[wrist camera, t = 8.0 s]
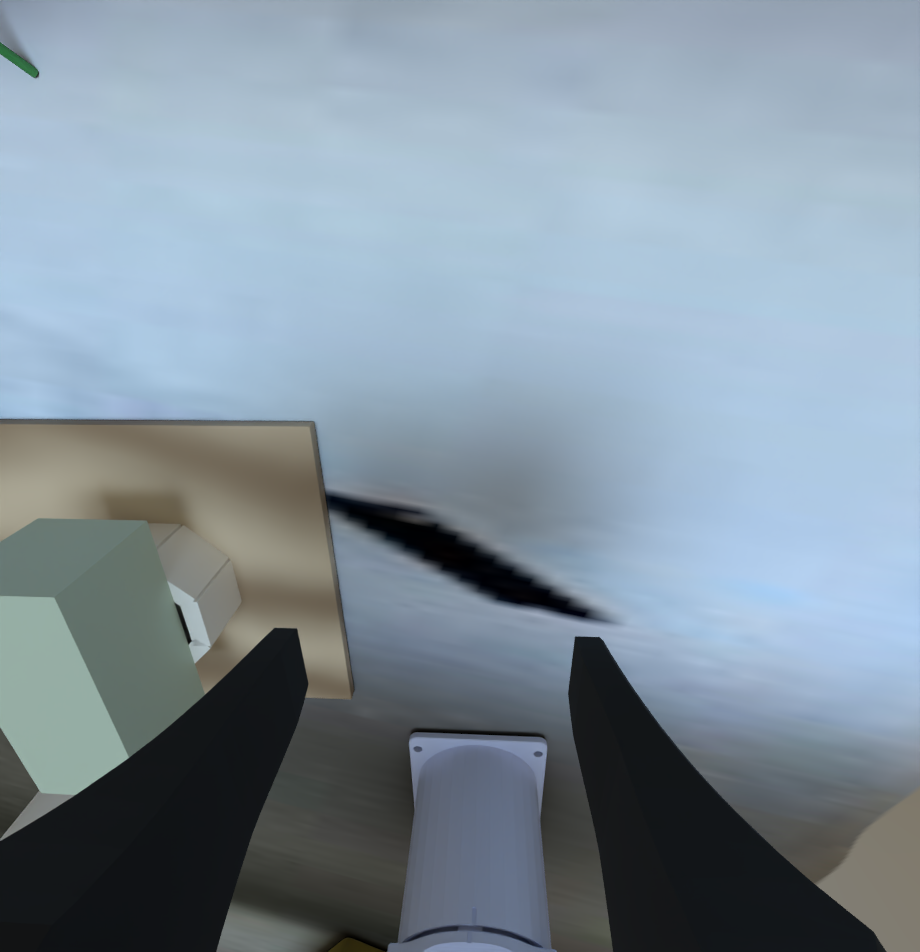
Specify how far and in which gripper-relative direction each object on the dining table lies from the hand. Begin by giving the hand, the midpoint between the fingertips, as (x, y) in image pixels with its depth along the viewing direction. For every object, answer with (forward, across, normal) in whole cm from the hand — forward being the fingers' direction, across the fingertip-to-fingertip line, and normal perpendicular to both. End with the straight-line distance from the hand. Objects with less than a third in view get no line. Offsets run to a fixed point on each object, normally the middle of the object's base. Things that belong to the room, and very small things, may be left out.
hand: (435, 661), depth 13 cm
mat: (+10, +14, +5) cm, 18 cm away
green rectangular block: (+6, +14, +5) cm, 16 cm away
